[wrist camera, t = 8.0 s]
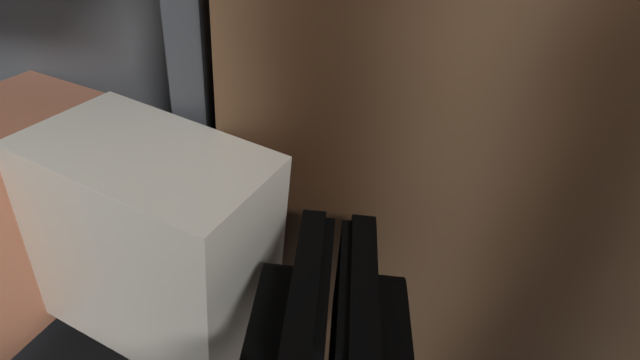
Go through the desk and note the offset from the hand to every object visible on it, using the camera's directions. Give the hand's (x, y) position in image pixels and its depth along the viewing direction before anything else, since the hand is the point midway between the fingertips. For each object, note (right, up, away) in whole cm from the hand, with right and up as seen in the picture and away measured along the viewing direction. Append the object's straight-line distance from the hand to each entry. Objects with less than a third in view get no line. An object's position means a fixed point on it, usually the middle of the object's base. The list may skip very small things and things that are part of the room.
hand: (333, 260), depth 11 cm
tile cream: (-3, +1, +1) cm, 4 cm away
